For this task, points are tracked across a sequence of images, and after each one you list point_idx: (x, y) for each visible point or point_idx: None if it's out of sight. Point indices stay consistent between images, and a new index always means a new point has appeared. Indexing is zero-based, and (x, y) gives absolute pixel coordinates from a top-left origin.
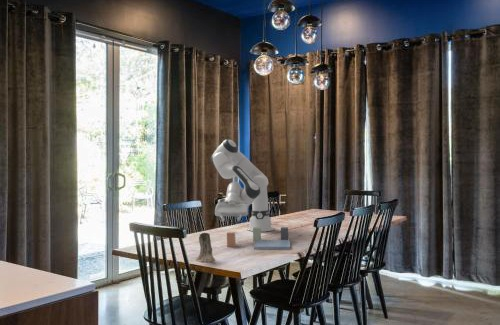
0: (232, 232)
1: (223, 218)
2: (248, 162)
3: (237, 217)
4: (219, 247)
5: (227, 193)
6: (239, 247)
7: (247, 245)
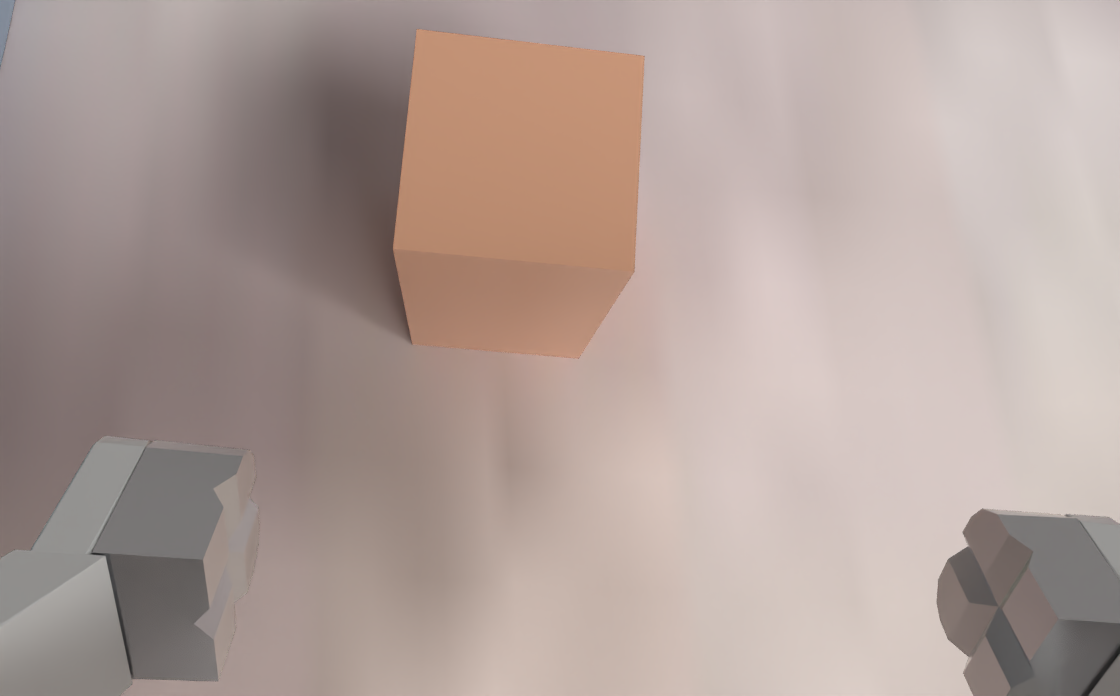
0: (482, 131)
1: (1040, 549)
2: None
3: (190, 543)
4: (732, 163)
5: None
6: (329, 122)
7: (144, 301)
